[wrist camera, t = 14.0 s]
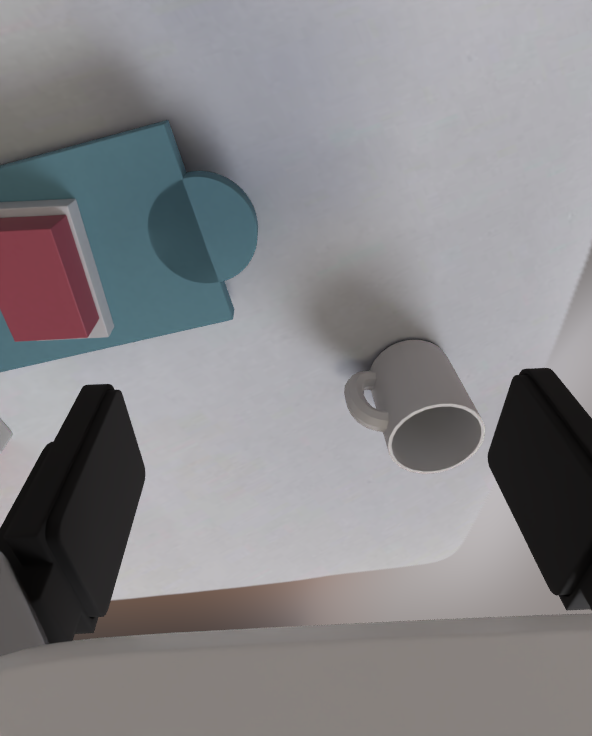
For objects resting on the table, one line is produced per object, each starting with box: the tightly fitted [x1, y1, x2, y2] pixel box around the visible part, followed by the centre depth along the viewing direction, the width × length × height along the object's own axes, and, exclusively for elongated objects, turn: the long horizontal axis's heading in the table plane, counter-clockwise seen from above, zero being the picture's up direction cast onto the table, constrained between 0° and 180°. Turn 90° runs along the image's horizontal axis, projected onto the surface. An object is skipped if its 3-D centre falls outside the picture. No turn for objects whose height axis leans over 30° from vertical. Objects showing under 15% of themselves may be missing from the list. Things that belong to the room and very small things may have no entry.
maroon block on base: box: [0, 199, 114, 342], centre depth 29 cm, size 9×5×4 cm, turn 2°
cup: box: [344, 340, 485, 474], centre depth 38 cm, size 7×10×9 cm
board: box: [0, 120, 258, 372], centre depth 32 cm, size 24×13×4 cm, turn 103°
